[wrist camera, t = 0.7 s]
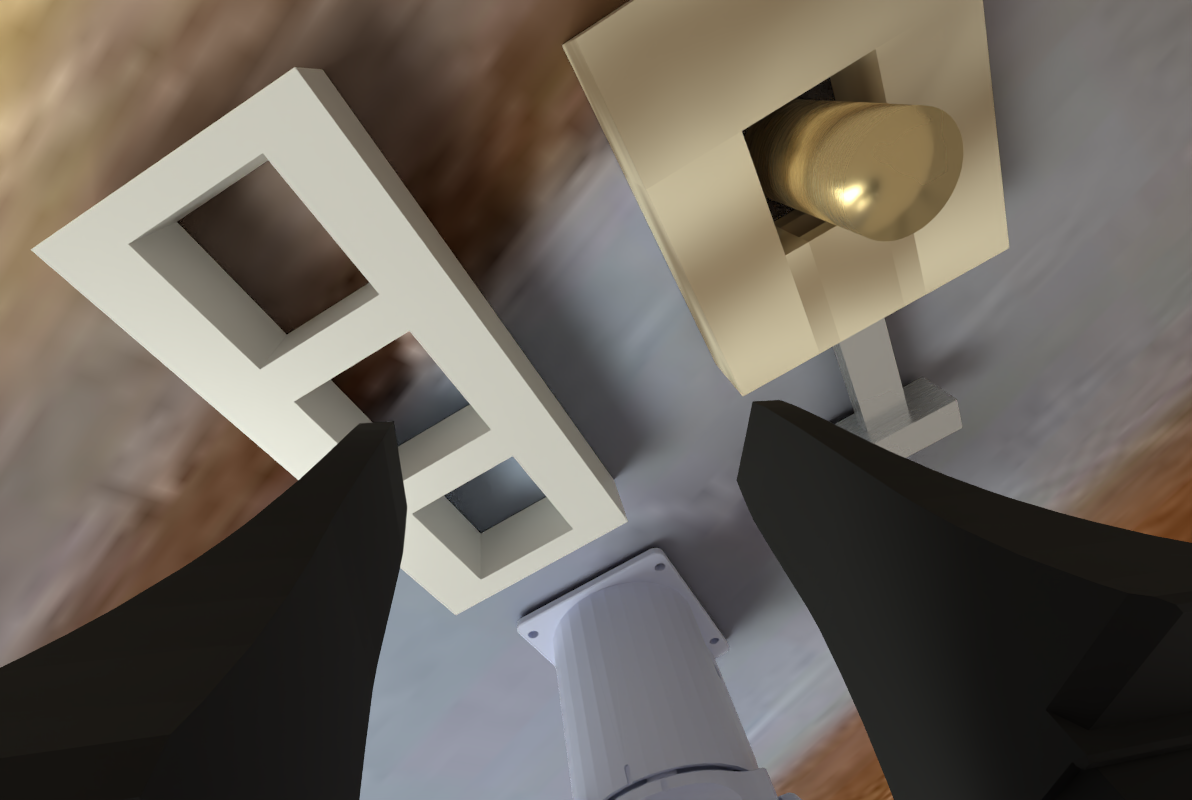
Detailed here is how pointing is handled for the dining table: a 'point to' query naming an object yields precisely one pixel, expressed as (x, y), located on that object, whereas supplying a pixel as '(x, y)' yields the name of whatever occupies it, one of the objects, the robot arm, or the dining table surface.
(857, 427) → the white t-shaped block
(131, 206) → the rack
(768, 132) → the brass cylinder
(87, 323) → the dining table surface
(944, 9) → the socket block
